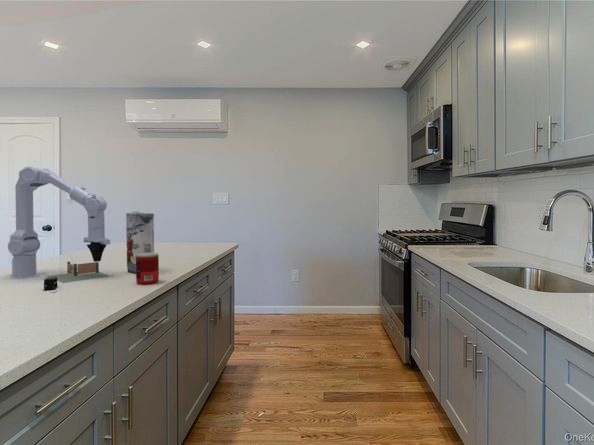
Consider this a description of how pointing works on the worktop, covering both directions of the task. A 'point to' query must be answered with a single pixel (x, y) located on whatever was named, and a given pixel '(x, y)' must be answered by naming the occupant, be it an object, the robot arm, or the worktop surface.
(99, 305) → the worktop surface
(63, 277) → the card
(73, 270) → the tan and grey block
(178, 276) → the worktop surface
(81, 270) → the gate panel
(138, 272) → the canned food
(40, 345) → the worktop surface
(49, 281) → the black small block
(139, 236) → the juice carton
